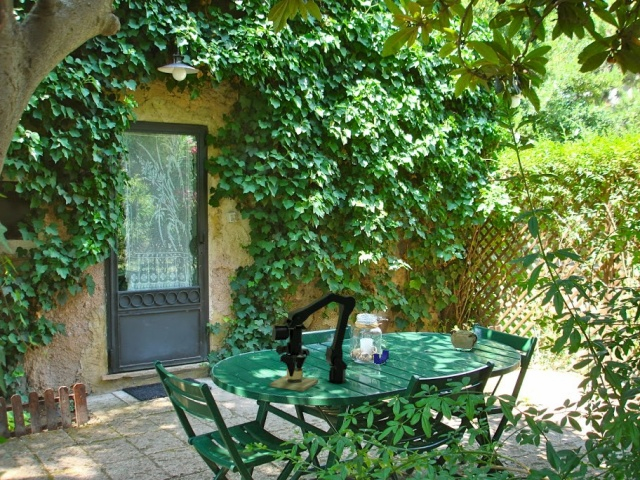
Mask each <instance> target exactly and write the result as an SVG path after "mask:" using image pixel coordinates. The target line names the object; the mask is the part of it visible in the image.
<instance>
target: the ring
mask: <svg viewBox="0 0 640 480" xmlns="http://www.w3.org/2000/svg"><path fill="white" fill-rule="evenodd" d="M297 369H298V371H294V374H293V376H292V377H291V376H290V374H289V371H288V368H286V375H287V378H288V379H302V378H303V377H304V376H303V375H304V368H297Z"/></svg>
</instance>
